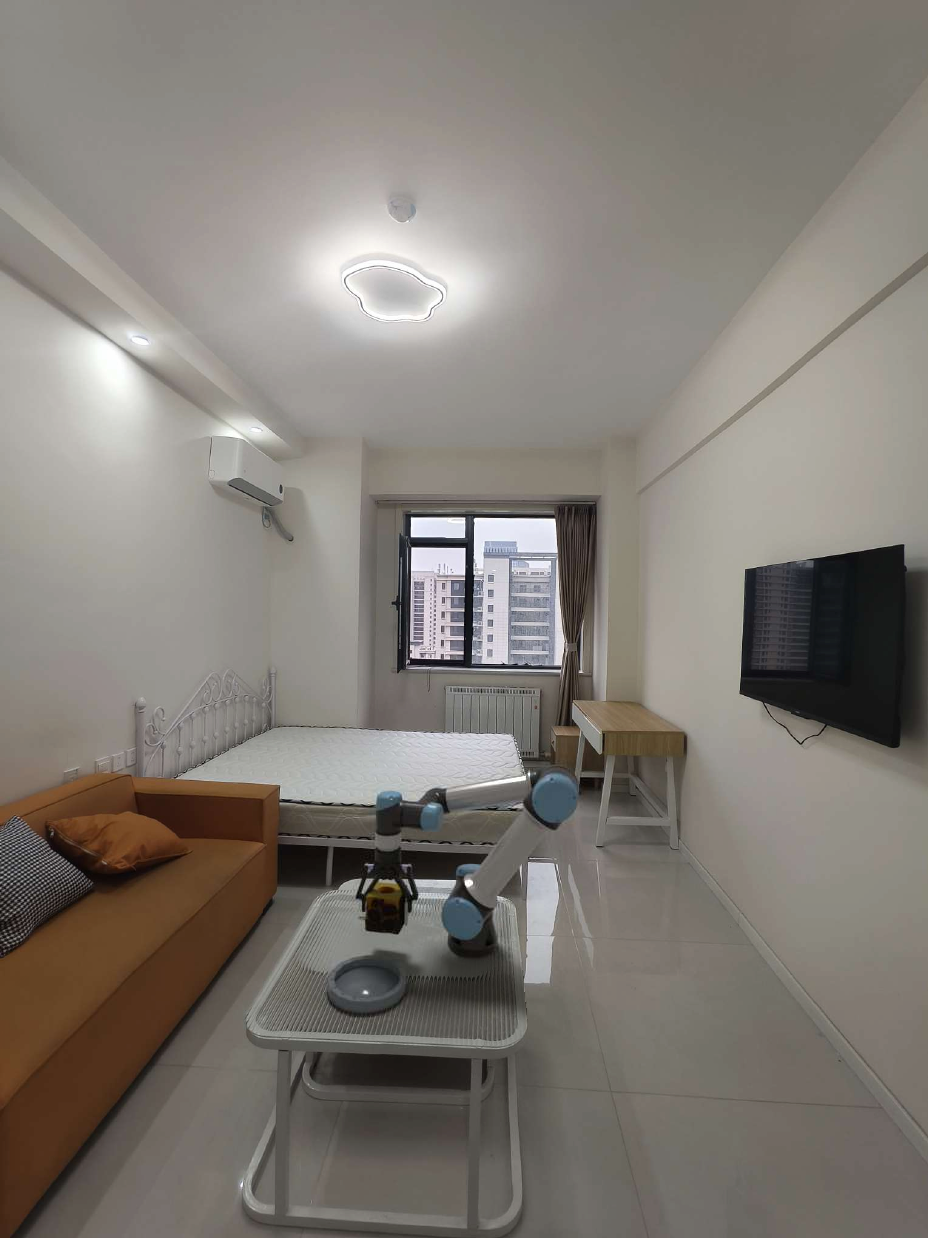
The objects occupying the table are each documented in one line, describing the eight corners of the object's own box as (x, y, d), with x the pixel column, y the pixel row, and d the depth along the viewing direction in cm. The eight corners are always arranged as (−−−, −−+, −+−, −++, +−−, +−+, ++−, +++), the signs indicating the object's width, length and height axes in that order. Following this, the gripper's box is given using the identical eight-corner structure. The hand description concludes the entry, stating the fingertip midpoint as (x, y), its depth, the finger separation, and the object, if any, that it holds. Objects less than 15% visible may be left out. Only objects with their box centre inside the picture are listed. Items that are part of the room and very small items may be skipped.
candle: (398, 936, 164) (399, 900, 164) (364, 932, 166) (364, 896, 166) (408, 918, 174) (409, 884, 174) (375, 914, 176) (376, 881, 176)
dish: (408, 968, 164) (409, 957, 164) (400, 1015, 144) (401, 1003, 144) (337, 964, 164) (337, 954, 164) (319, 1012, 144) (320, 999, 144)
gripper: (428, 842, 174) (427, 917, 174) (350, 841, 174) (349, 916, 174) (427, 852, 166) (425, 930, 166) (345, 850, 166) (344, 929, 166)
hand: (386, 923), depth 170 cm, fingers closed on candle, 11 cm apart
